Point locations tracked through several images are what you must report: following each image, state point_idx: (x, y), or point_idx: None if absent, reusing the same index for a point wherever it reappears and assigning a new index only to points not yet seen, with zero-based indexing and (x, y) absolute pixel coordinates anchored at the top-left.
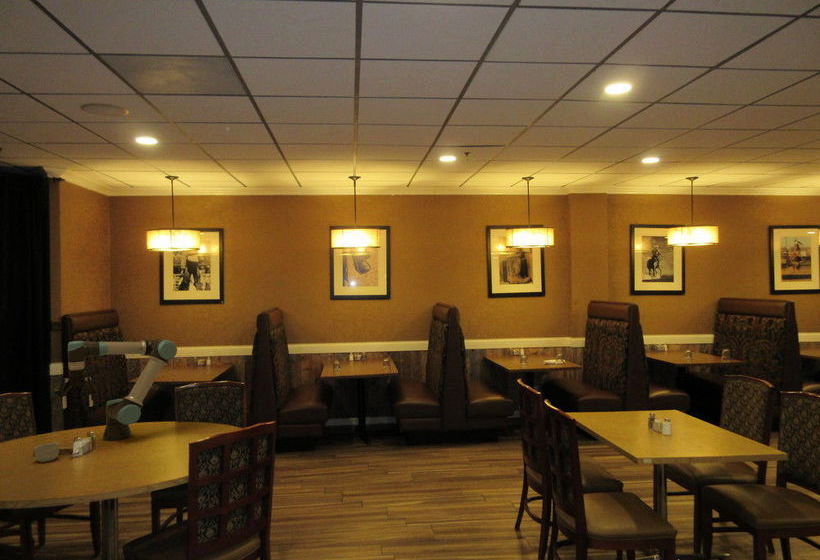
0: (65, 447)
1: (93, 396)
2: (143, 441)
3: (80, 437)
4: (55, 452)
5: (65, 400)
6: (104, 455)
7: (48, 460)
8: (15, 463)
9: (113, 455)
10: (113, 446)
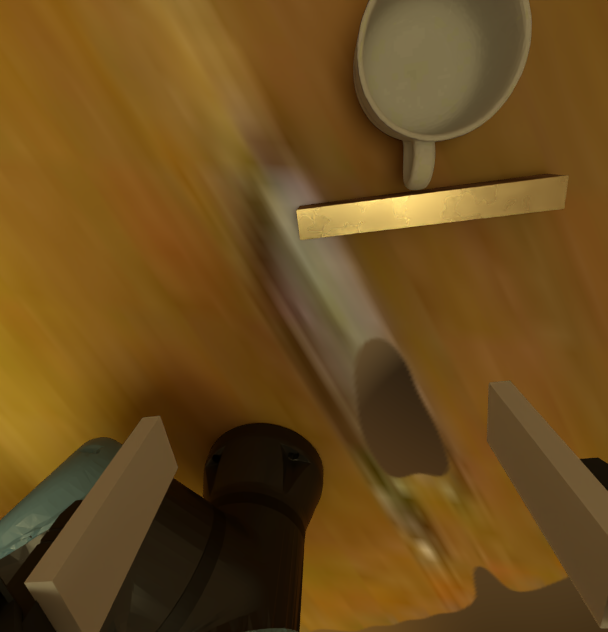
0: (378, 227)
1: (25, 562)
2: (99, 399)
3: (441, 486)
4: (356, 43)
5: (545, 508)
6: (125, 168)
7: (387, 28)
8: (601, 6)
9: (74, 164)
10: (189, 333)
